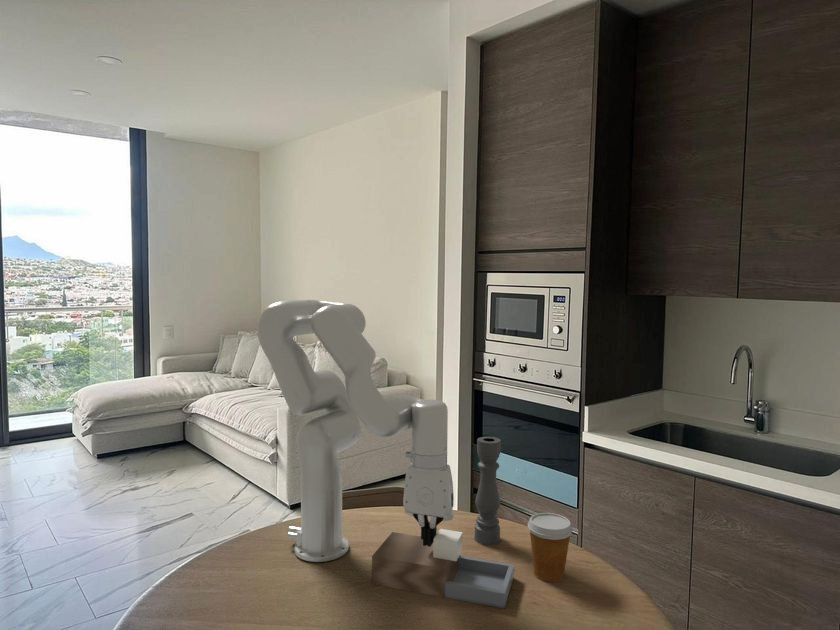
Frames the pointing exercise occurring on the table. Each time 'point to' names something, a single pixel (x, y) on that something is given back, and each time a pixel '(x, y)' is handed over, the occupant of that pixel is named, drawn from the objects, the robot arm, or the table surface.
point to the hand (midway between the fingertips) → (428, 543)
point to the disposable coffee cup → (549, 545)
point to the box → (481, 582)
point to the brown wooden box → (411, 566)
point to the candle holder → (488, 492)
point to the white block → (448, 544)
